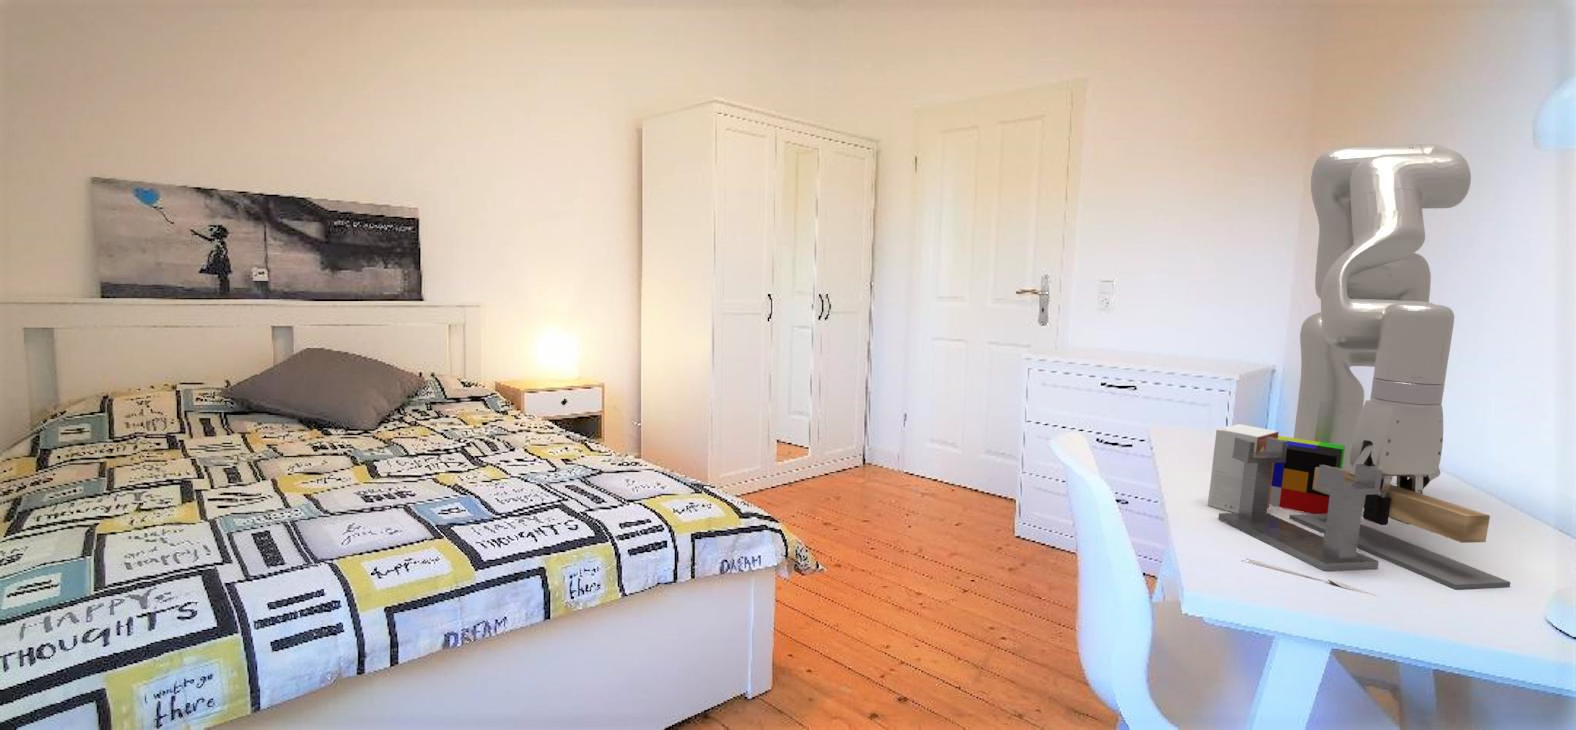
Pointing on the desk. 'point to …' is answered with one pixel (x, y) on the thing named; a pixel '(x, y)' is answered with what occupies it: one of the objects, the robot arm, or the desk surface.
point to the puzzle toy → (1303, 475)
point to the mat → (1413, 557)
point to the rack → (1294, 540)
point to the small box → (1233, 465)
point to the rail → (1431, 513)
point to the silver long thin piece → (1308, 576)
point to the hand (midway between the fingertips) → (1388, 520)
